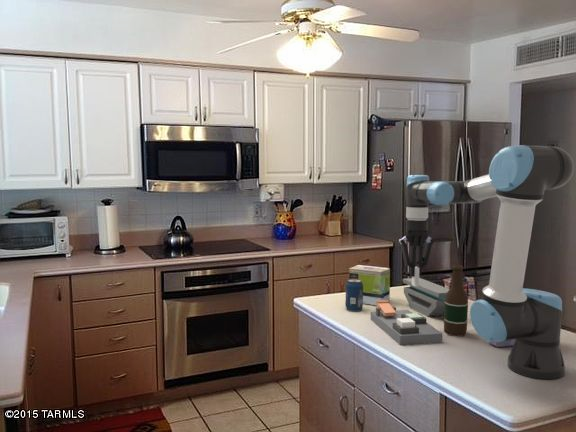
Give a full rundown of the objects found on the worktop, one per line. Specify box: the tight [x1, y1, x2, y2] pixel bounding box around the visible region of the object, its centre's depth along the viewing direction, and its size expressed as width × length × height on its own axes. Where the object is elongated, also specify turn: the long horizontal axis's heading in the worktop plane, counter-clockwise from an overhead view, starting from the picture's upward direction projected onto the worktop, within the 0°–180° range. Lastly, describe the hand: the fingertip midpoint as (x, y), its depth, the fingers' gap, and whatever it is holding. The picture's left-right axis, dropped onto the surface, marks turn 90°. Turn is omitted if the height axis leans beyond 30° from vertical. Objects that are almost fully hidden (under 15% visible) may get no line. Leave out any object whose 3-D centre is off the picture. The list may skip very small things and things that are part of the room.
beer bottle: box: [443, 264, 469, 337], centre depth 186 cm, size 8×8×24 cm
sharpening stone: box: [402, 277, 450, 317], centre depth 212 cm, size 25×8×11 cm, turn 20°
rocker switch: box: [375, 300, 396, 316], centre depth 197 cm, size 9×4×2 cm, turn 11°
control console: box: [370, 305, 444, 346], centre depth 189 cm, size 28×15×6 cm, turn 11°
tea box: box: [348, 264, 391, 306], centre depth 226 cm, size 15×10×15 cm
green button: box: [405, 312, 424, 319], centre depth 190 cm, size 5×5×2 cm
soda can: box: [344, 278, 364, 312], centre depth 214 cm, size 7×7×12 cm
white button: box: [397, 318, 415, 328], centre depth 180 cm, size 5×5×2 cm
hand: (415, 285), depth 188 cm, fingers closed
